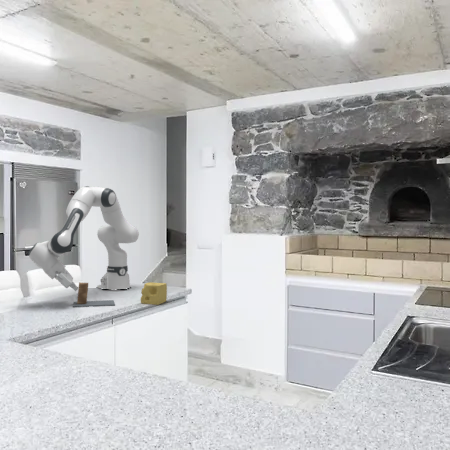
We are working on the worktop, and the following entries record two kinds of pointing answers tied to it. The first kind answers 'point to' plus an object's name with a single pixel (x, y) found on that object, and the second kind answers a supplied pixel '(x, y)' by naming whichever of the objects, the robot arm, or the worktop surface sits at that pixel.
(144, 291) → the cheese
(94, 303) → the slate mat
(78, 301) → the walnut block
